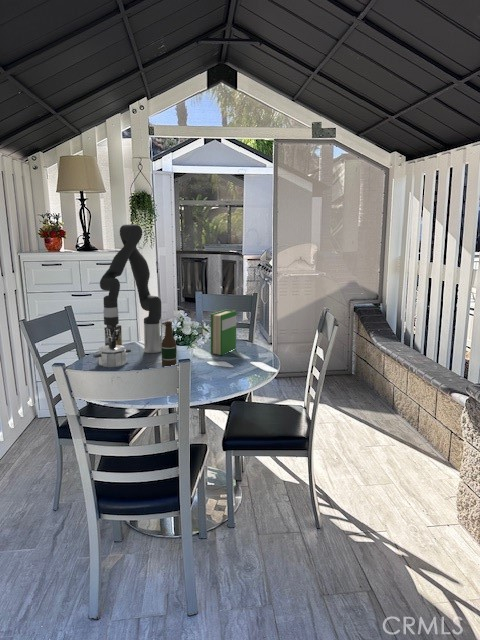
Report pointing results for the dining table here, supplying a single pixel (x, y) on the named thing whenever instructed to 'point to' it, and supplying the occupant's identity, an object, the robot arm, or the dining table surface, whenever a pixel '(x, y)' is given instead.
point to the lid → (109, 349)
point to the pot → (112, 358)
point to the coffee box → (119, 341)
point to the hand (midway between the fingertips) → (112, 347)
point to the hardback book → (223, 331)
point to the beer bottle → (169, 347)
